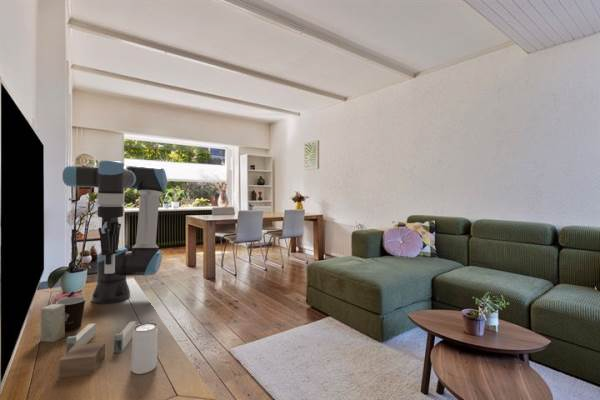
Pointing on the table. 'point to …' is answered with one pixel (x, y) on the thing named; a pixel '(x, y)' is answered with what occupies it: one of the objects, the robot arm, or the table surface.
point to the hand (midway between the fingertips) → (109, 272)
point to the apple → (67, 296)
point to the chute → (89, 333)
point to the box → (52, 322)
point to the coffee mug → (73, 312)
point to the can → (144, 348)
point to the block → (82, 359)
